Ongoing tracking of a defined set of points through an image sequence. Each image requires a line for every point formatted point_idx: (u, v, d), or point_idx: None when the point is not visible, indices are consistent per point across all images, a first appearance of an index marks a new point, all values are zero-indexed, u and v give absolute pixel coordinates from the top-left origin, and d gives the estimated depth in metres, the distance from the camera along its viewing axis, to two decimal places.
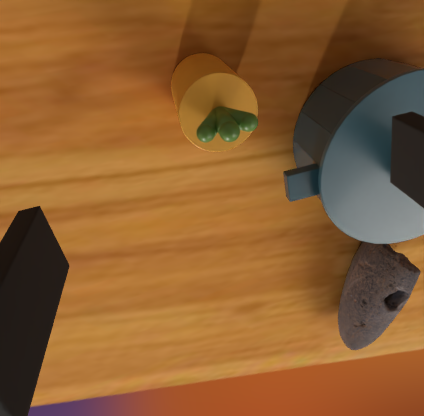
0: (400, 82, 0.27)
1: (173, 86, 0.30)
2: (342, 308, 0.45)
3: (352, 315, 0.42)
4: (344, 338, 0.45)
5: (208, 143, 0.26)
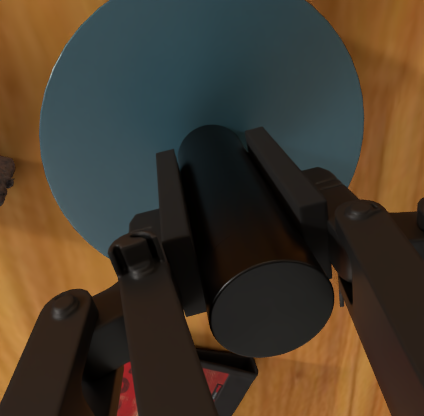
0: (353, 97, 0.17)
1: None
2: None
3: None
4: None
5: None
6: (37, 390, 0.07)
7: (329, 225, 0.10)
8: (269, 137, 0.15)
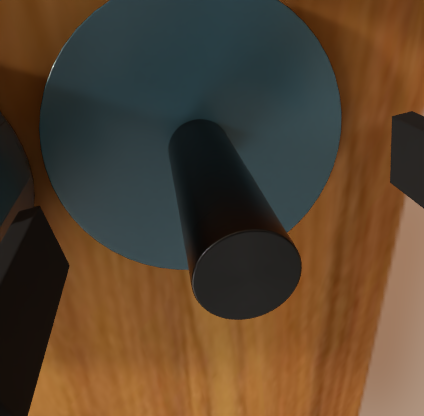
0: (330, 93, 0.19)
1: None
2: None
3: None
4: None
5: None
6: None
7: None
8: None
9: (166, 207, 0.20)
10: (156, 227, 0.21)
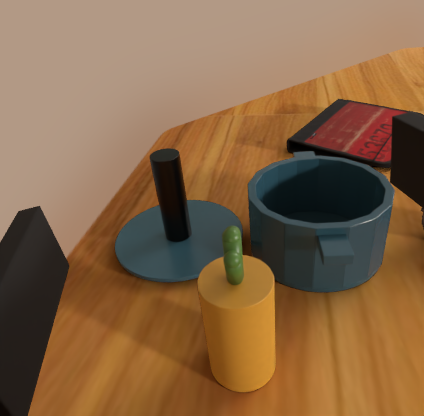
0: (118, 242, 0.44)
1: (226, 367, 0.28)
2: None
3: None
4: None
5: (262, 290, 0.25)
6: None
7: None
8: None
9: (200, 219, 0.47)
10: (208, 214, 0.47)
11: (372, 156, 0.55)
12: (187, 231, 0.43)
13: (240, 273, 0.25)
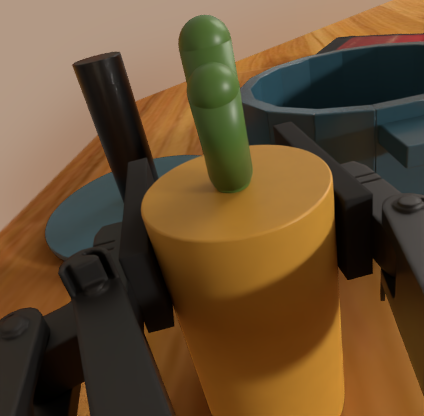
0: (52, 222, 0.29)
1: (240, 405, 0.12)
2: None
3: None
4: None
5: (306, 189, 0.10)
6: None
7: (374, 219, 0.10)
8: (300, 132, 0.14)
9: None
10: None
11: None
12: None
13: (242, 143, 0.09)
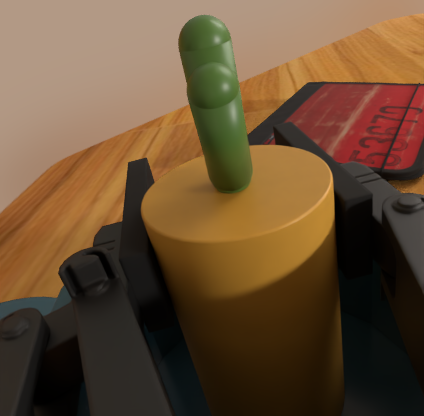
0: None
1: (240, 406, 0.12)
2: None
3: None
4: None
5: (306, 189, 0.10)
6: None
7: (374, 219, 0.10)
8: (300, 132, 0.14)
9: None
10: None
11: (378, 162, 0.30)
12: None
13: (242, 144, 0.09)
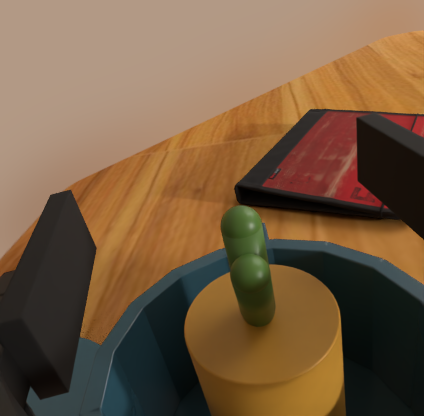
0: None
1: None
2: None
3: None
4: None
5: (319, 330, 0.12)
6: None
7: None
8: (393, 123, 0.13)
9: None
10: None
11: (378, 200, 0.32)
12: None
13: (270, 302, 0.11)
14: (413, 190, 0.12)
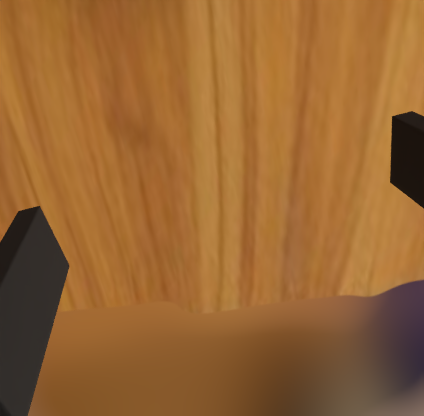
0: None
1: None
2: None
3: None
4: None
5: None
6: None
7: None
8: None
9: None
10: None
11: None
12: None
13: None
14: None
